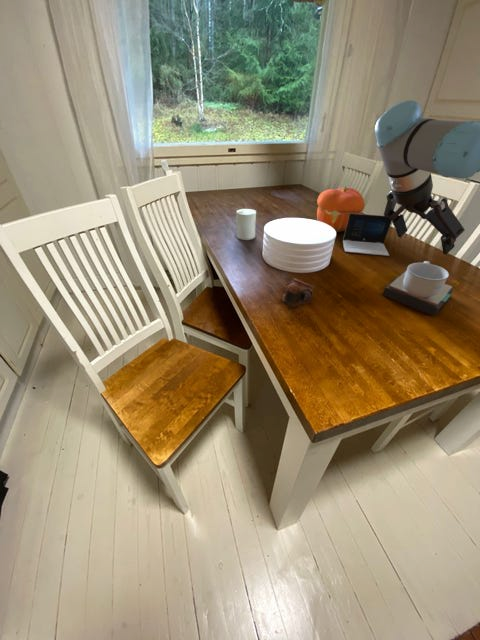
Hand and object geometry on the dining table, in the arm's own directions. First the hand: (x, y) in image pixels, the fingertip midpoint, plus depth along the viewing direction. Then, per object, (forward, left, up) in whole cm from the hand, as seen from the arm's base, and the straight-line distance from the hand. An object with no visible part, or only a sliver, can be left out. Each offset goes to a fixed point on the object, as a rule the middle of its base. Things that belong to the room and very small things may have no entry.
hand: (424, 241), depth 74 cm
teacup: (-3, -7, -18) cm, 19 cm away
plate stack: (+44, -5, -22) cm, 49 cm away
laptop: (+28, -34, -22) cm, 49 cm away
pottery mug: (+23, +21, -22) cm, 38 cm away
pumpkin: (+50, -46, -22) cm, 71 cm away
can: (+74, -5, -22) cm, 77 cm away
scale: (-2, -11, -22) cm, 24 cm away
